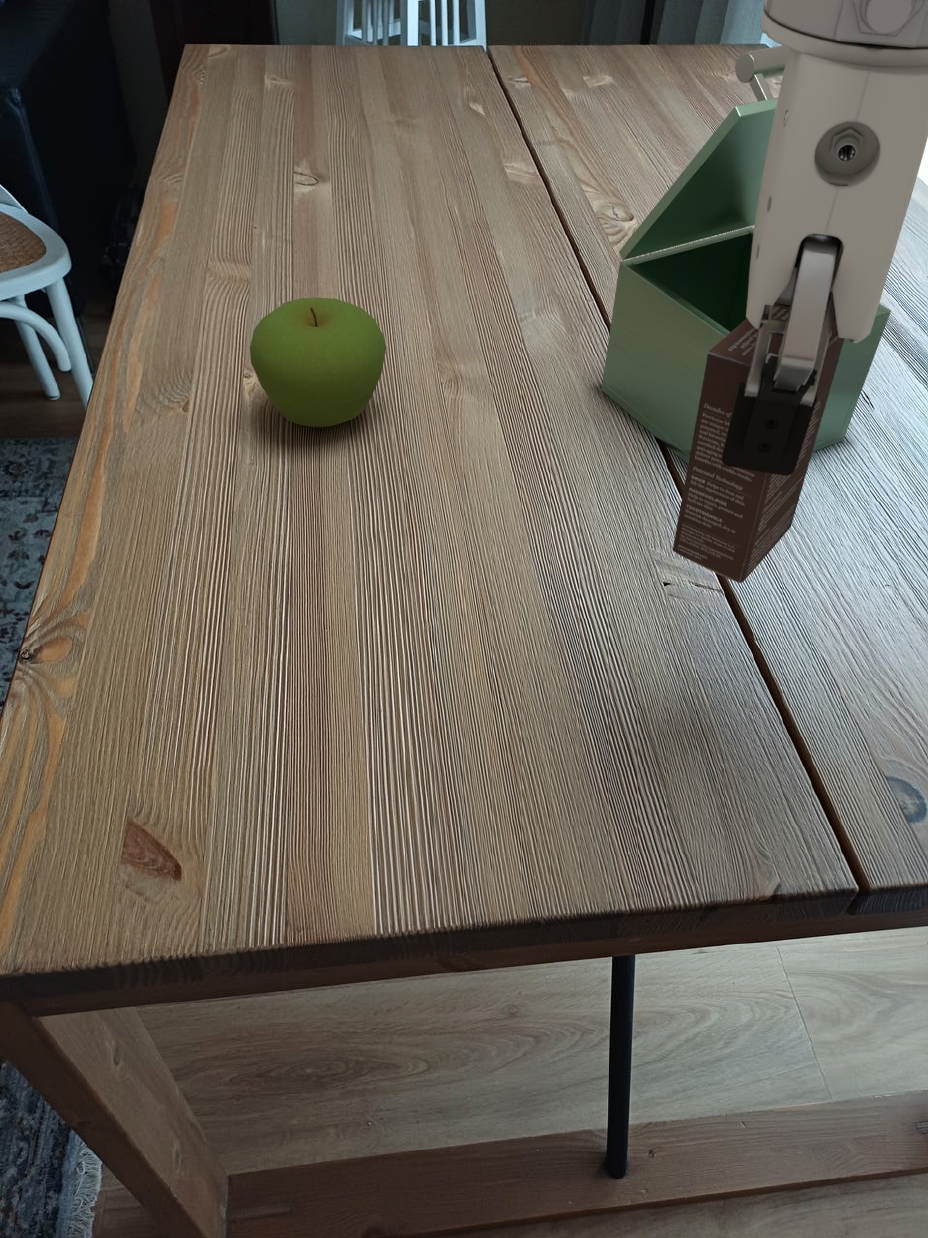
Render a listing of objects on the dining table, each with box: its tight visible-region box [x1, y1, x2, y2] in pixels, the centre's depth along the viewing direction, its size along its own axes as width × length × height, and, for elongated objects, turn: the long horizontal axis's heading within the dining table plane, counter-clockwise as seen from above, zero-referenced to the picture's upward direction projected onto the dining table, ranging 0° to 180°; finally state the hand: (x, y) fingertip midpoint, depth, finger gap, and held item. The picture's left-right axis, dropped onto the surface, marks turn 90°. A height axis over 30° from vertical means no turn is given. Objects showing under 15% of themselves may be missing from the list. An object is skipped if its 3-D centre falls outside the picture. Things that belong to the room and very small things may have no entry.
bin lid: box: [618, 45, 789, 261], centre depth 72 cm, size 16×14×5 cm
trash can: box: [600, 226, 892, 465], centre depth 79 cm, size 16×14×12 cm
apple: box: [249, 297, 387, 428], centre depth 78 cm, size 11×10×10 cm
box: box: [672, 303, 845, 584], centre depth 48 cm, size 6×4×12 cm
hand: (761, 417), depth 46 cm, fingers closed on box, 7 cm apart
